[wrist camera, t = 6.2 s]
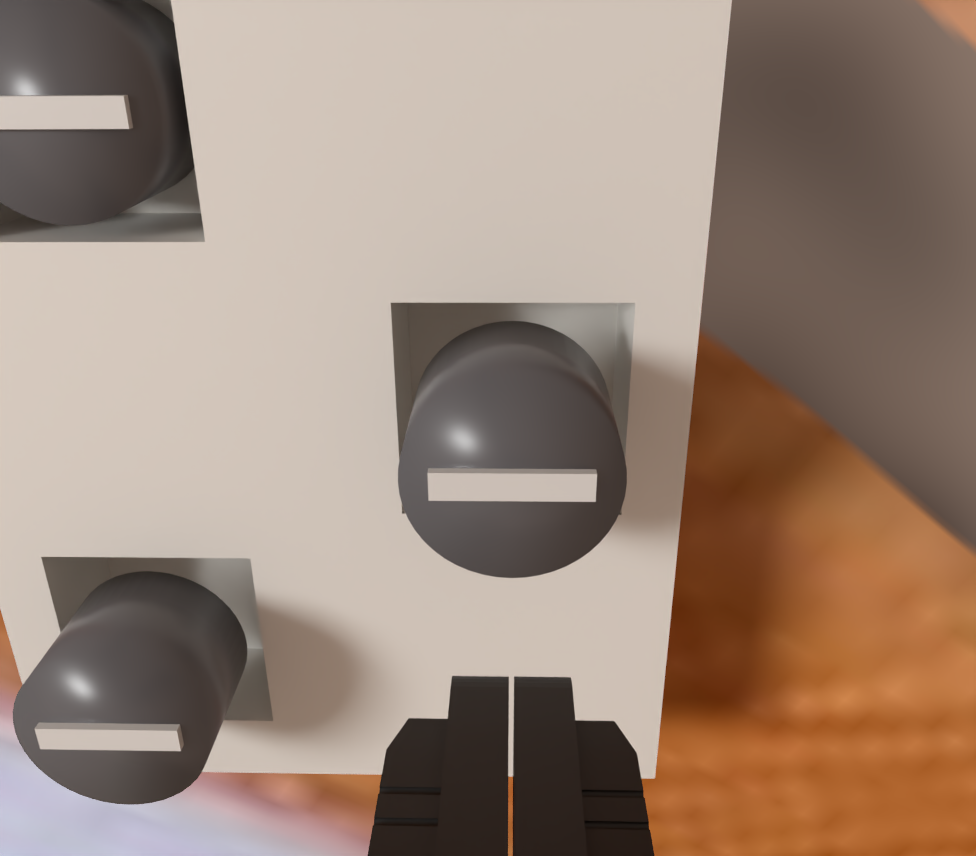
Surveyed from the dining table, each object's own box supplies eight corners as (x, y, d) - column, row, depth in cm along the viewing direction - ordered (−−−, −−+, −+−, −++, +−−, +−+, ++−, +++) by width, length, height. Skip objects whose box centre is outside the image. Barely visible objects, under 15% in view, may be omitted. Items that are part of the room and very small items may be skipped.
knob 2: (60, 570, 22) (-14, 660, 19) (236, 571, 22) (191, 662, 19) (94, 707, 24) (32, 809, 21) (256, 708, 24) (218, 812, 21)
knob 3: (409, 320, 19) (390, 379, 16) (615, 320, 19) (635, 380, 16) (418, 499, 21) (402, 582, 18) (605, 500, 21) (621, 584, 18)
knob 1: (-4, -11, 19) (-103, -15, 16) (197, -12, 19) (137, -17, 16) (41, 196, 21) (-40, 228, 18) (225, 196, 21) (175, 227, 18)
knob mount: (-85, -126, 19) (-224, -159, 16) (703, -136, 19) (749, -171, 15) (106, 673, 29) (47, 769, 25) (636, 679, 28) (654, 778, 24)
